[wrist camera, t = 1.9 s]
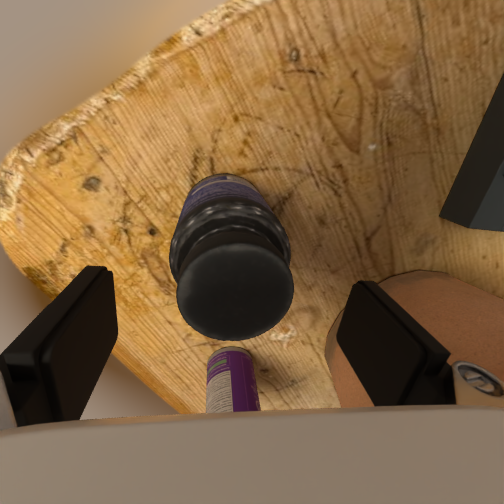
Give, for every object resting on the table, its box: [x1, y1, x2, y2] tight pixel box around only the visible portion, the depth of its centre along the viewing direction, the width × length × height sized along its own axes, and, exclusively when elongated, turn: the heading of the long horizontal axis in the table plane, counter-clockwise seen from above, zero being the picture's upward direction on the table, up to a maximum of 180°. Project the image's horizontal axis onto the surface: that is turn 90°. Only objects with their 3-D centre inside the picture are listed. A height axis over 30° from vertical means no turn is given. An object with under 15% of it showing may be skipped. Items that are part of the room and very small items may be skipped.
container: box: [206, 347, 261, 413], centre depth 20 cm, size 5×5×15 cm
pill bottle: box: [169, 173, 294, 341], centre depth 15 cm, size 6×6×11 cm
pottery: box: [325, 270, 504, 408], centre depth 22 cm, size 22×22×14 cm
